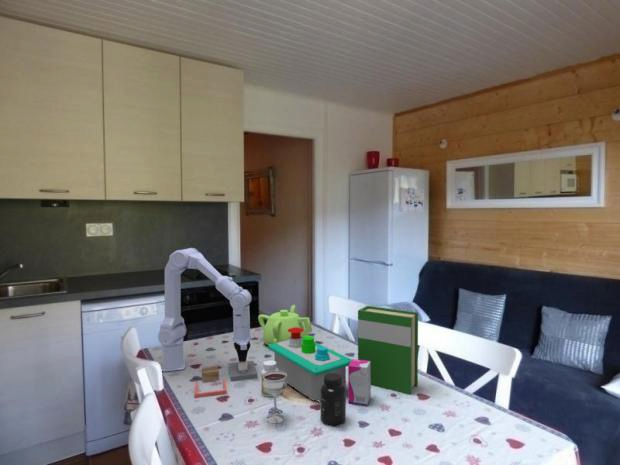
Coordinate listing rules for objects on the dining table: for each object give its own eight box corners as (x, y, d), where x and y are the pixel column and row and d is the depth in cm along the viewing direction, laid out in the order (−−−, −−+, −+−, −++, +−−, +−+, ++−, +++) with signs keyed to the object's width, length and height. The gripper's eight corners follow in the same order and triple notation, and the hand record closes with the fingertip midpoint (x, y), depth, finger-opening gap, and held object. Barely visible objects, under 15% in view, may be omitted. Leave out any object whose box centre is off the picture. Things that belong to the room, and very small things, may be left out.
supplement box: (371, 397, 118) (371, 360, 117) (367, 406, 112) (367, 368, 112) (352, 394, 120) (352, 358, 119) (347, 403, 114) (347, 365, 114)
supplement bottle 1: (276, 397, 118) (275, 366, 118) (259, 396, 119) (258, 365, 119) (281, 389, 123) (280, 359, 123) (264, 388, 125) (264, 358, 124)
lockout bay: (195, 384, 127) (195, 381, 127) (225, 381, 130) (225, 378, 130) (194, 397, 119) (194, 394, 119) (226, 393, 121) (226, 390, 121)
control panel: (316, 352, 111) (265, 327, 135) (317, 408, 112) (266, 373, 136) (356, 341, 120) (301, 319, 144) (356, 394, 121) (302, 363, 145)
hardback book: (417, 385, 126) (418, 312, 124) (410, 394, 119) (410, 317, 118) (367, 373, 135) (367, 305, 134) (358, 381, 129) (357, 310, 127)
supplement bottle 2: (316, 416, 107) (316, 373, 107) (338, 411, 110) (338, 369, 109) (327, 429, 101) (327, 384, 100) (350, 423, 104) (350, 379, 103)
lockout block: (202, 377, 134) (202, 367, 134) (217, 375, 135) (216, 365, 135) (203, 383, 129) (203, 373, 129) (218, 381, 131) (218, 370, 131)
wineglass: (258, 417, 107) (257, 374, 106) (278, 409, 111) (277, 368, 111) (272, 427, 102) (271, 383, 101) (292, 418, 106) (292, 375, 106)
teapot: (272, 354, 154) (271, 318, 154) (256, 339, 172) (255, 307, 172) (314, 346, 163) (313, 312, 162) (294, 333, 181) (294, 302, 180)
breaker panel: (228, 367, 142) (228, 363, 141) (253, 364, 144) (253, 360, 144) (230, 381, 130) (230, 376, 130) (257, 378, 132) (257, 373, 132)
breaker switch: (238, 368, 136) (238, 362, 136) (246, 367, 137) (246, 361, 137) (238, 370, 134) (238, 364, 134) (247, 370, 134) (247, 363, 134)
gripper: (255, 330, 130) (256, 369, 131) (250, 318, 144) (251, 354, 145) (234, 332, 129) (235, 372, 129) (231, 320, 143) (232, 356, 143)
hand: (242, 363), depth 137 cm, fingers closed
